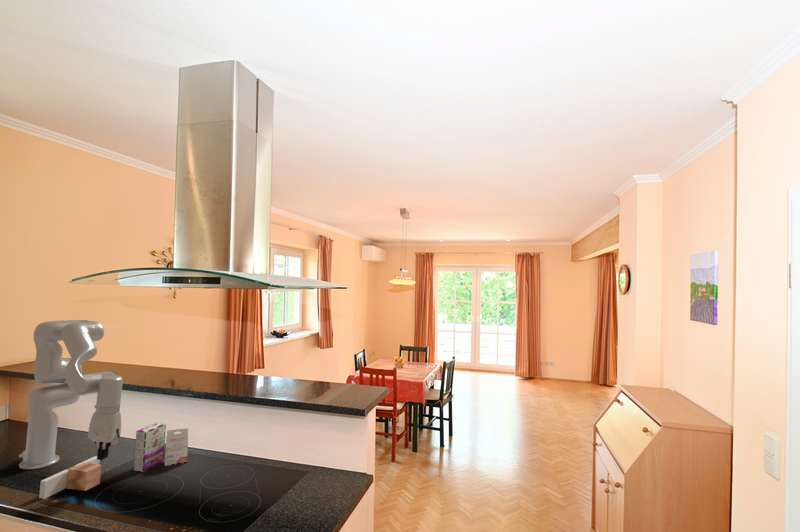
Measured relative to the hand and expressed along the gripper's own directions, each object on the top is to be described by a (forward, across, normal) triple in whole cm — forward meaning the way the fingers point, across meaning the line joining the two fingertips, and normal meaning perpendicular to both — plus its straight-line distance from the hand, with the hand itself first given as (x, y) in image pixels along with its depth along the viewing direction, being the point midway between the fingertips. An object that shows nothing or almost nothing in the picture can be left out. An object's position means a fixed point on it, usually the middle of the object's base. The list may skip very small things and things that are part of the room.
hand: (102, 458), depth 153 cm
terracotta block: (+11, -6, 0) cm, 13 cm away
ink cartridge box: (+11, +12, +26) cm, 30 cm away
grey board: (+11, -12, 0) cm, 16 cm away
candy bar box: (+11, +4, +20) cm, 23 cm away
